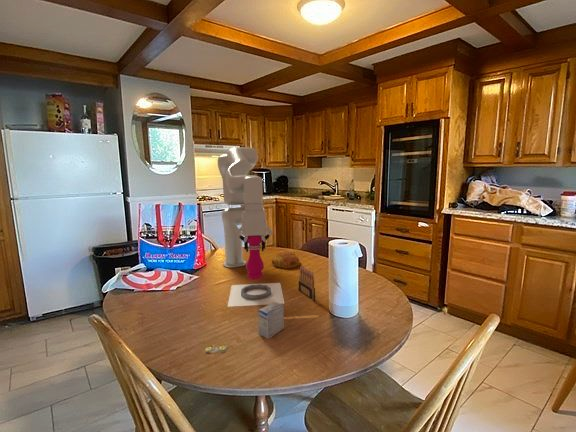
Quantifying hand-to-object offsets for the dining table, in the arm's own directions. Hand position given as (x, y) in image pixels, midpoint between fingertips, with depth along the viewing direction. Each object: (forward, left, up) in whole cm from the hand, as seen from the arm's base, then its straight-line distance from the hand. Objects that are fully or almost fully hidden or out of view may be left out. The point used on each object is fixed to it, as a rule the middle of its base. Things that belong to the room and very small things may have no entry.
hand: (254, 250), depth 130 cm
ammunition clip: (+3, +21, -20) cm, 29 cm away
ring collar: (0, 0, -19) cm, 19 cm away
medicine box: (+30, +5, -20) cm, 36 cm away
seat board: (0, 0, -20) cm, 20 cm away
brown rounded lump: (-39, +17, -20) cm, 47 cm away
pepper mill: (+1, 0, -11) cm, 11 cm away
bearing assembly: (+38, -12, -20) cm, 45 cm away
